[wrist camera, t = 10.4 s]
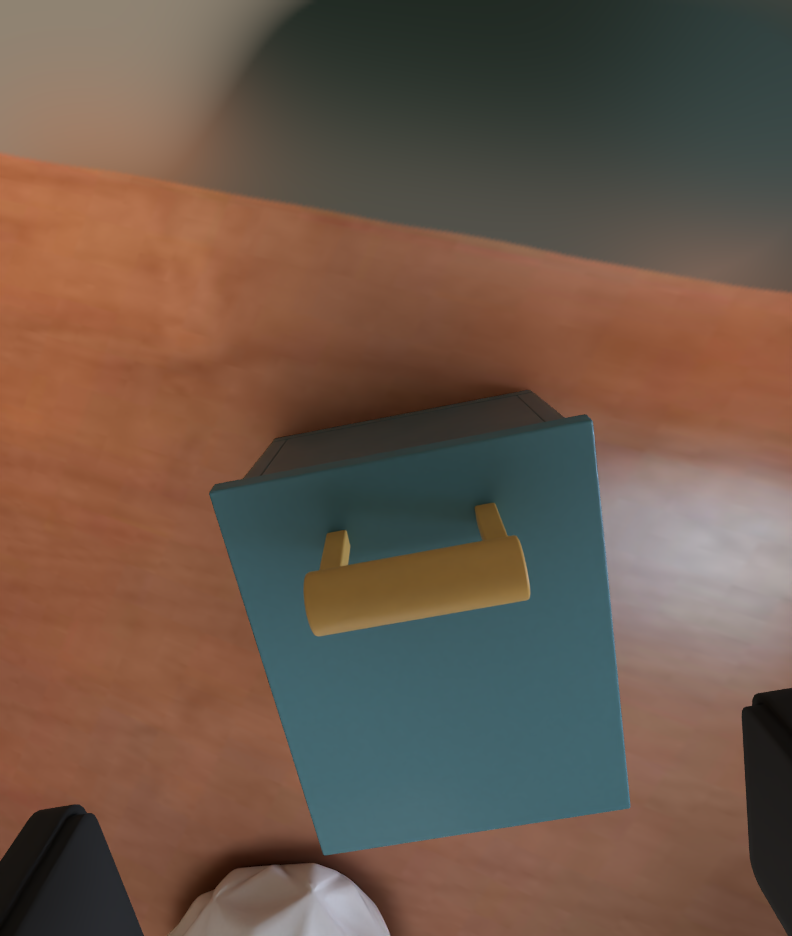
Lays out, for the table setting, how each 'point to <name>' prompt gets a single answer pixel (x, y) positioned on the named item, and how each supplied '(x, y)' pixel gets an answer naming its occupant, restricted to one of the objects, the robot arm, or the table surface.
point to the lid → (437, 633)
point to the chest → (403, 431)
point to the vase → (283, 905)
